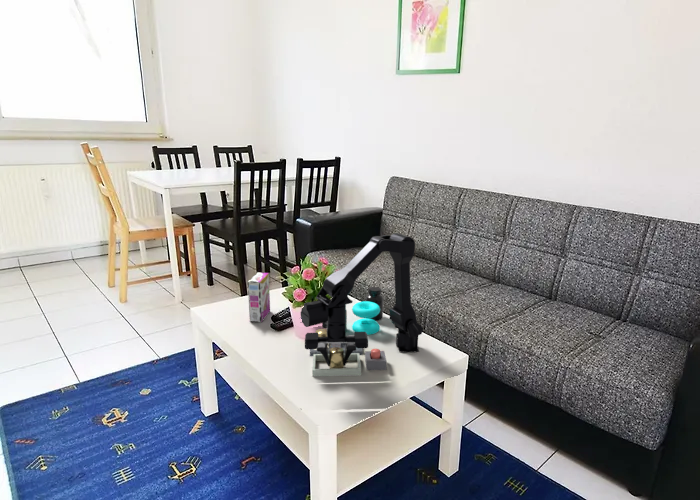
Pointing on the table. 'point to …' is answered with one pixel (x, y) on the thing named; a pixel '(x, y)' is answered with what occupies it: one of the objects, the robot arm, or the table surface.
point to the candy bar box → (259, 297)
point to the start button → (375, 354)
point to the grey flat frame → (332, 345)
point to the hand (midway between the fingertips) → (336, 365)
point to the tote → (337, 370)
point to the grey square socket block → (375, 361)
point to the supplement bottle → (376, 301)
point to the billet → (336, 358)
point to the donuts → (366, 311)
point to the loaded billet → (322, 334)
